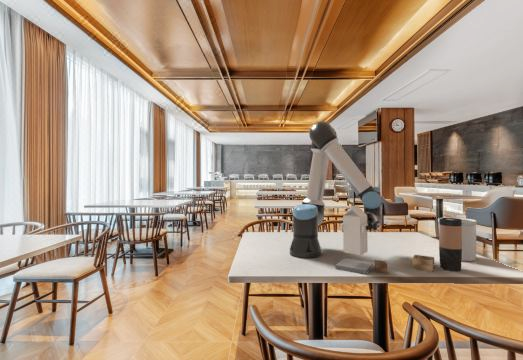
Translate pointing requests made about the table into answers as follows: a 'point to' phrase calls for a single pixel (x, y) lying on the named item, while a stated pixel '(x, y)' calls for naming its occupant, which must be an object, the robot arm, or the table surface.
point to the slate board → (355, 266)
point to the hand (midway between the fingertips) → (351, 228)
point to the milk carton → (354, 231)
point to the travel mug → (450, 243)
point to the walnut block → (380, 267)
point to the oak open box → (423, 263)
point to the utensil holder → (468, 239)
